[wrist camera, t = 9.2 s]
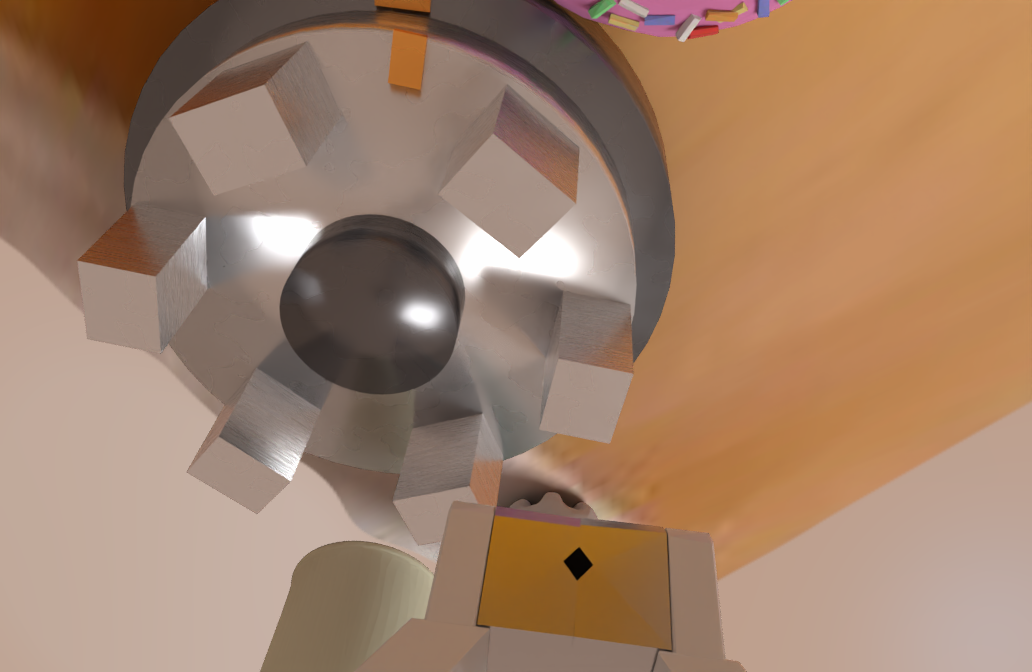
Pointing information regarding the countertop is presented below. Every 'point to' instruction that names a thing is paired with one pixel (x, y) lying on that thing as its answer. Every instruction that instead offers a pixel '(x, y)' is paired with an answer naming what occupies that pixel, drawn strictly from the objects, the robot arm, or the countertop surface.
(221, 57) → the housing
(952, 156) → the countertop surface
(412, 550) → the countertop surface
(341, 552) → the can
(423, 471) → the toothed metal gear
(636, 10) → the donut
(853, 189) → the countertop surface
